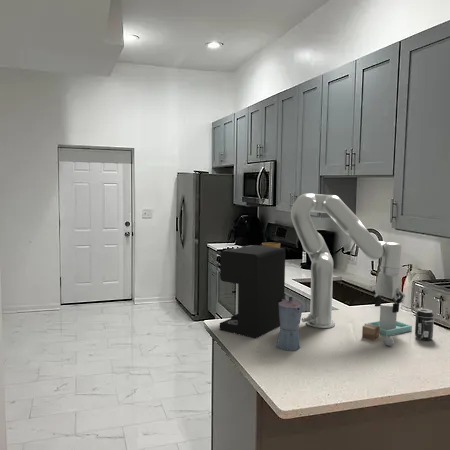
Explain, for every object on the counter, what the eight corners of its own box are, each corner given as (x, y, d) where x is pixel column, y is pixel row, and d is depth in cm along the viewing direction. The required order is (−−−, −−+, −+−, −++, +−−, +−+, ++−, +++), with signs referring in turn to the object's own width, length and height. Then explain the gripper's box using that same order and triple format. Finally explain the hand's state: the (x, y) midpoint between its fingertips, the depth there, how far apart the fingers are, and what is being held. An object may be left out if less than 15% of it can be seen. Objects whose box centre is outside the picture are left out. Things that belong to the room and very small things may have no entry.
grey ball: (388, 347, 179) (389, 339, 179) (381, 345, 182) (382, 336, 182) (395, 346, 181) (395, 337, 181) (387, 343, 184) (388, 335, 184)
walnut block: (373, 341, 187) (373, 329, 187) (362, 337, 191) (362, 326, 190) (379, 338, 191) (379, 326, 190) (368, 335, 194) (368, 323, 194)
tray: (386, 336, 192) (386, 331, 192) (364, 328, 203) (364, 323, 203) (411, 330, 200) (411, 325, 200) (389, 323, 211) (389, 318, 210)
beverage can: (413, 335, 195) (415, 307, 194) (431, 336, 193) (432, 308, 192) (415, 340, 188) (417, 311, 187) (433, 342, 186) (435, 313, 185)
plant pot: (281, 262, 375) (281, 242, 374) (278, 265, 361) (278, 244, 359) (263, 261, 379) (263, 241, 378) (259, 263, 365) (260, 244, 363)
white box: (395, 330, 199) (396, 307, 198) (379, 328, 201) (380, 306, 200) (395, 328, 202) (396, 305, 201) (379, 326, 204) (380, 304, 204)
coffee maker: (252, 315, 222) (253, 243, 219) (288, 322, 211) (290, 246, 208) (218, 329, 199) (218, 249, 196) (256, 338, 188) (258, 254, 185)
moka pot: (288, 355, 170) (290, 302, 168) (266, 342, 184) (267, 293, 182) (309, 351, 175) (311, 299, 173) (286, 338, 188) (287, 290, 186)
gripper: (368, 267, 205) (365, 304, 207) (400, 275, 190) (396, 315, 192) (380, 266, 209) (376, 303, 210) (412, 274, 194) (408, 313, 195)
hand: (386, 309), depth 201 cm, fingers open, 9 cm apart
